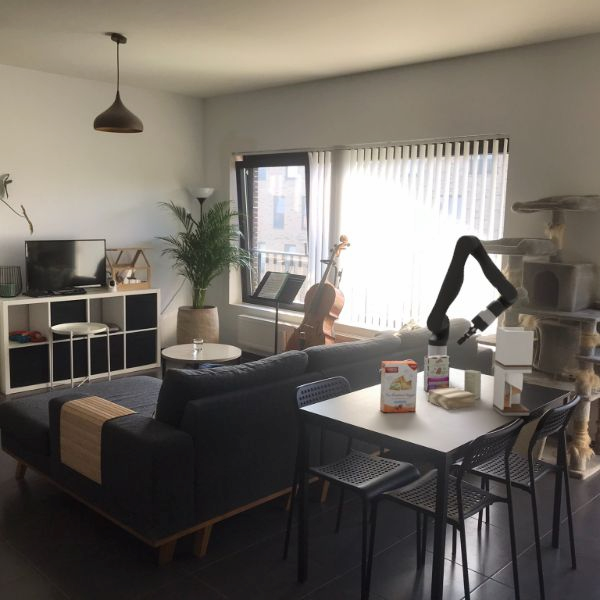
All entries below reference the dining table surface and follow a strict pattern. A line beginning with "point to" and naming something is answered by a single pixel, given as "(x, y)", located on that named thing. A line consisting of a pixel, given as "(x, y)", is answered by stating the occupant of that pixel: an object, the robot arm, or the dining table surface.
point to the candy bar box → (436, 372)
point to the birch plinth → (451, 397)
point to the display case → (511, 368)
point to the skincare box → (473, 382)
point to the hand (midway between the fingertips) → (458, 343)
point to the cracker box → (398, 386)
